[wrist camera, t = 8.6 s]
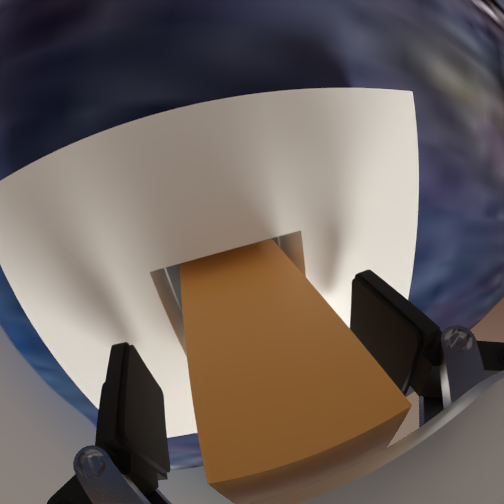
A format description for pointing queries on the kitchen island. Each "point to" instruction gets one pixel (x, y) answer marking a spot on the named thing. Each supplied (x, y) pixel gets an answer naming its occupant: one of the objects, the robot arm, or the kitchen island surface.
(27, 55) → the kitchen island surface
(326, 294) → the socket block
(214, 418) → the plug
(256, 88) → the kitchen island surface
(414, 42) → the kitchen island surface
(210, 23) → the kitchen island surface
